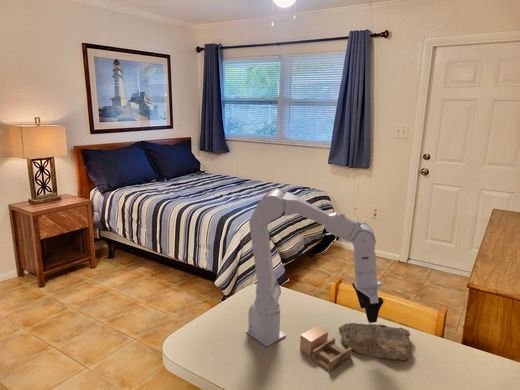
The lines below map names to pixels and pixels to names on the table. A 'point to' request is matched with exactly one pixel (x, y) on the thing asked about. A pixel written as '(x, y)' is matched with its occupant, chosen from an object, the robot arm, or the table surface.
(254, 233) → the robot arm
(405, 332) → the rough brown rock
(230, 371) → the table surface
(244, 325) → the table surface
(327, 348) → the rack
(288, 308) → the table surface
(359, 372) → the table surface
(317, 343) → the clay bar
